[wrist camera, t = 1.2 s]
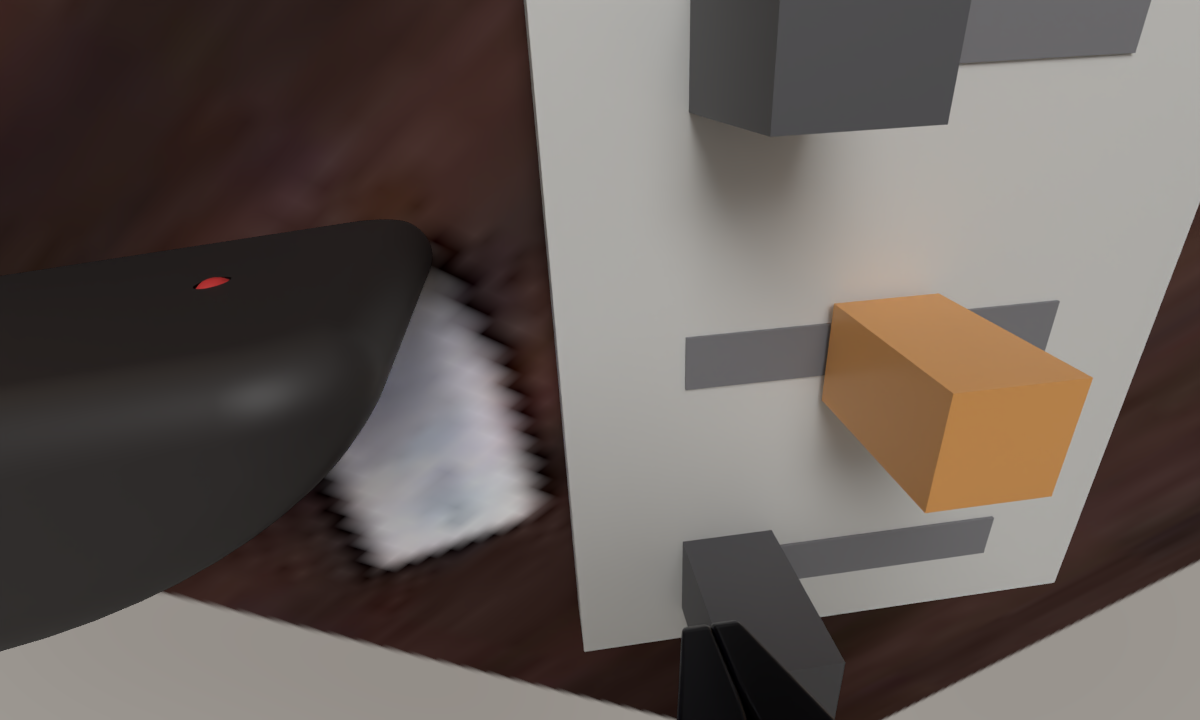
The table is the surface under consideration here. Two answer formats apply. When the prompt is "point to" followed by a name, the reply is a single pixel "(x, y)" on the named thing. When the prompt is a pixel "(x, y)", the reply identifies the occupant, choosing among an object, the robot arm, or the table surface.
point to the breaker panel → (834, 279)
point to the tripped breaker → (951, 401)
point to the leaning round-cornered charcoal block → (182, 405)
